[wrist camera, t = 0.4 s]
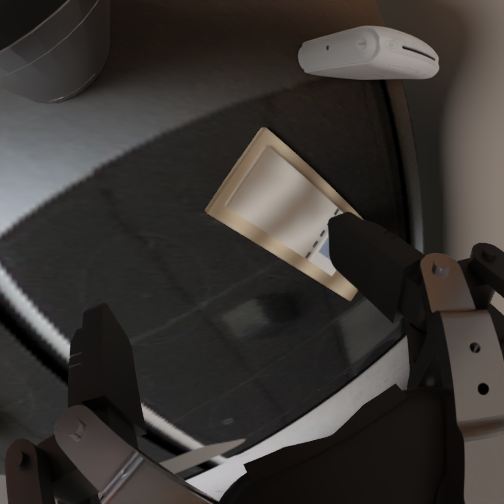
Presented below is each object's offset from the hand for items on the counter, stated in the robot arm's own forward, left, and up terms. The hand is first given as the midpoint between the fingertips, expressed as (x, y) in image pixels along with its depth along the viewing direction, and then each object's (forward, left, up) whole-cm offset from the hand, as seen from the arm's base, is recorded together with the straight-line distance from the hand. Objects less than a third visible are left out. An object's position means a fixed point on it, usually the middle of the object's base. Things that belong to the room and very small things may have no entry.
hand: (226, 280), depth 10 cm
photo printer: (-4, +24, -20) cm, 31 cm away
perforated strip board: (+14, +14, -19) cm, 28 cm away
